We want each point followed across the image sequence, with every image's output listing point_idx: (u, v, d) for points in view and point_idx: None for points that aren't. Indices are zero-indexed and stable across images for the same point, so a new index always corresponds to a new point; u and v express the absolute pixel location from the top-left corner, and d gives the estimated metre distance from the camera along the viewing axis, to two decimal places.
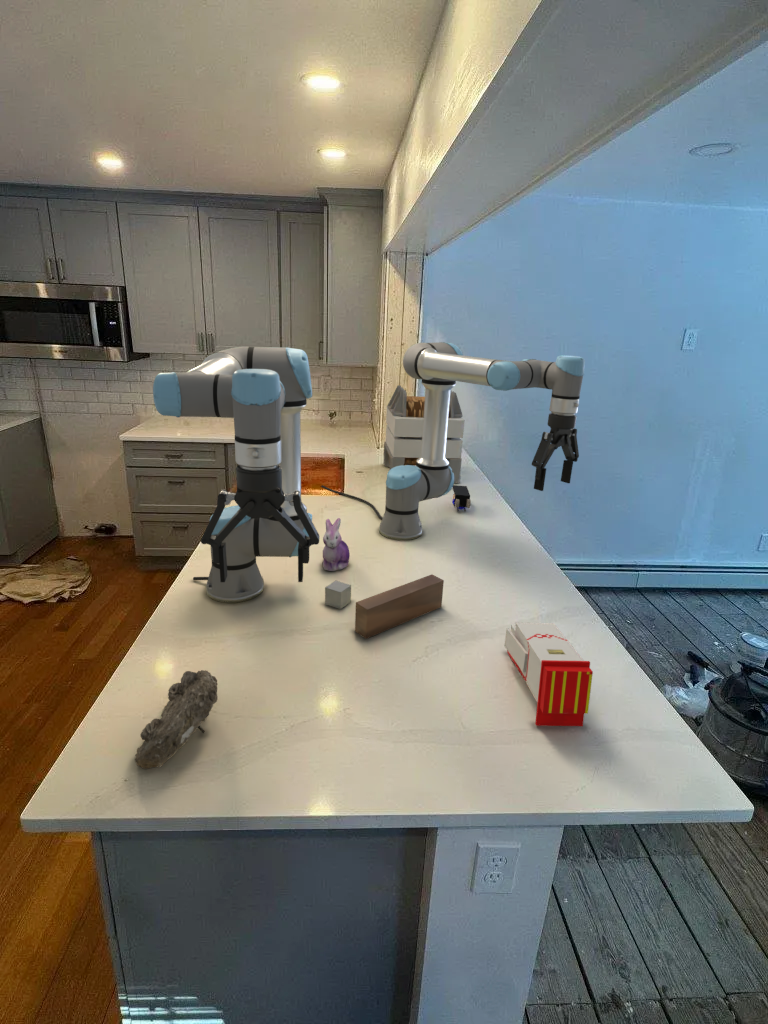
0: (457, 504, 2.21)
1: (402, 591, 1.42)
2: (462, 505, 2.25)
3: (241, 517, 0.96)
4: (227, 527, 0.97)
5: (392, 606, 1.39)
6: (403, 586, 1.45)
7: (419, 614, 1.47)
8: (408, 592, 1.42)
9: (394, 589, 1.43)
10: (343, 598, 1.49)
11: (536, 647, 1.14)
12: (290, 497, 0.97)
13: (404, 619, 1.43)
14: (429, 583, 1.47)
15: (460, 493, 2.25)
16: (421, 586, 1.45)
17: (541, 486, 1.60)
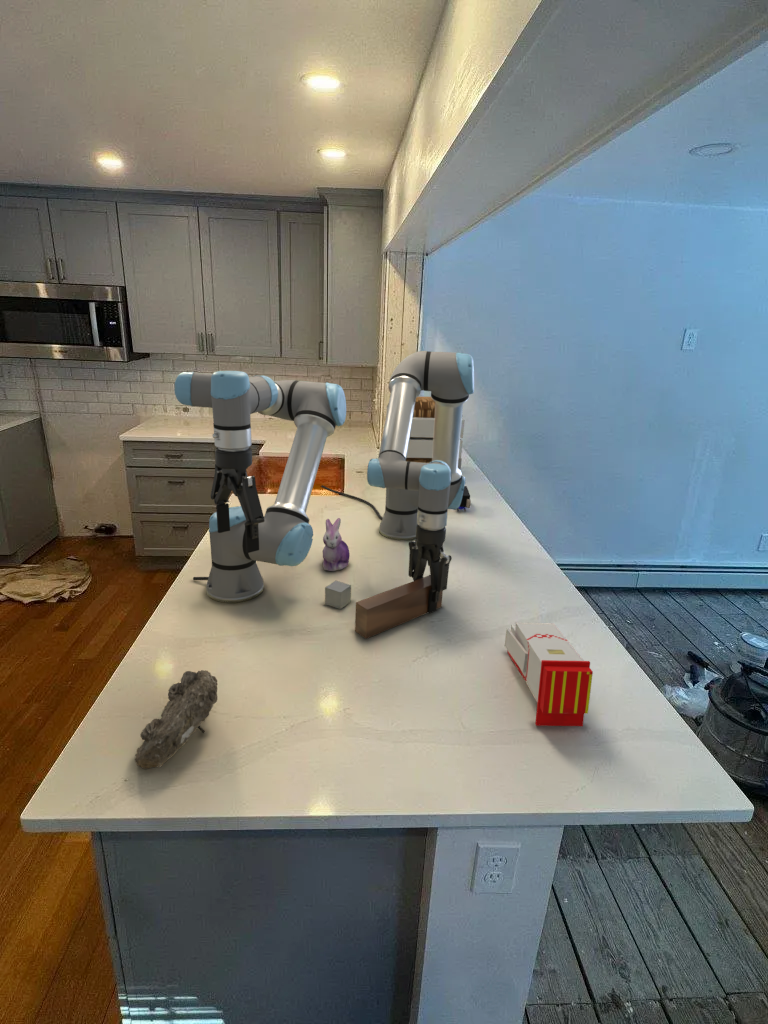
0: None
1: (402, 591, 1.42)
2: (462, 505, 2.25)
3: (221, 485, 1.23)
4: (219, 490, 1.25)
5: (392, 606, 1.39)
6: (403, 586, 1.45)
7: (419, 614, 1.47)
8: (408, 592, 1.42)
9: (394, 589, 1.43)
10: (343, 598, 1.49)
11: (536, 647, 1.14)
12: None
13: (404, 619, 1.43)
14: (429, 583, 1.47)
15: None
16: (421, 586, 1.45)
17: None
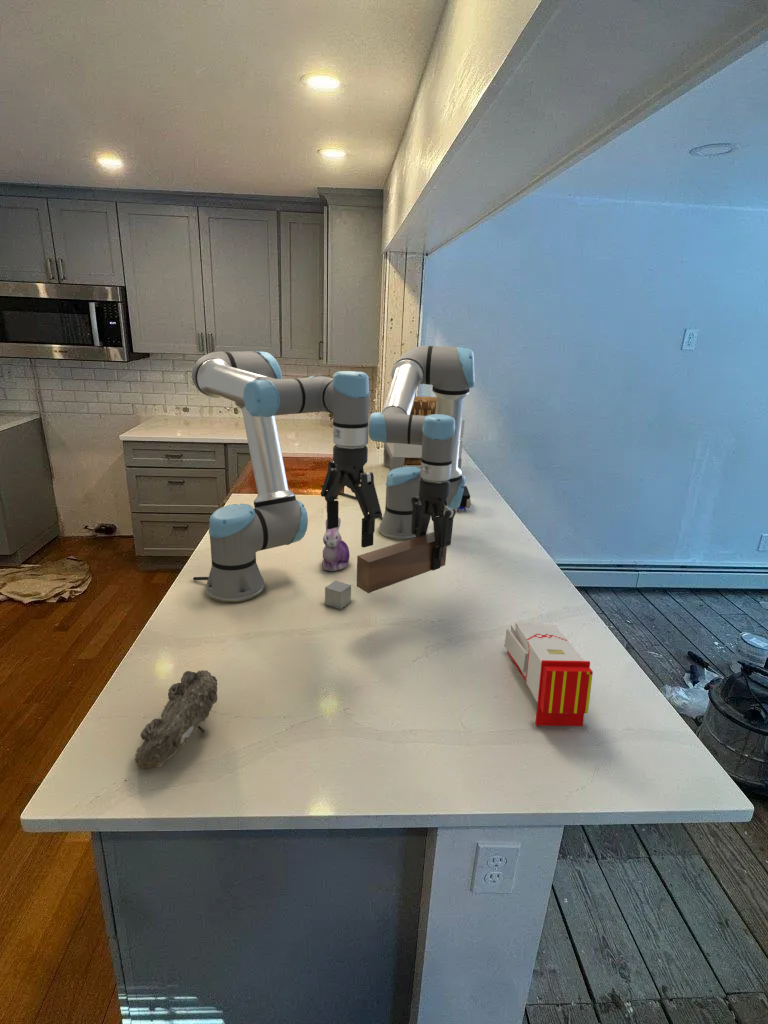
0: None
1: (405, 547, 1.38)
2: (462, 505, 2.25)
3: (336, 482, 1.27)
4: (331, 488, 1.29)
5: (395, 561, 1.35)
6: (406, 542, 1.41)
7: (422, 571, 1.43)
8: (411, 547, 1.38)
9: (397, 544, 1.39)
10: (343, 598, 1.49)
11: (536, 647, 1.14)
12: None
13: (406, 575, 1.39)
14: (432, 539, 1.43)
15: None
16: (424, 542, 1.41)
17: None
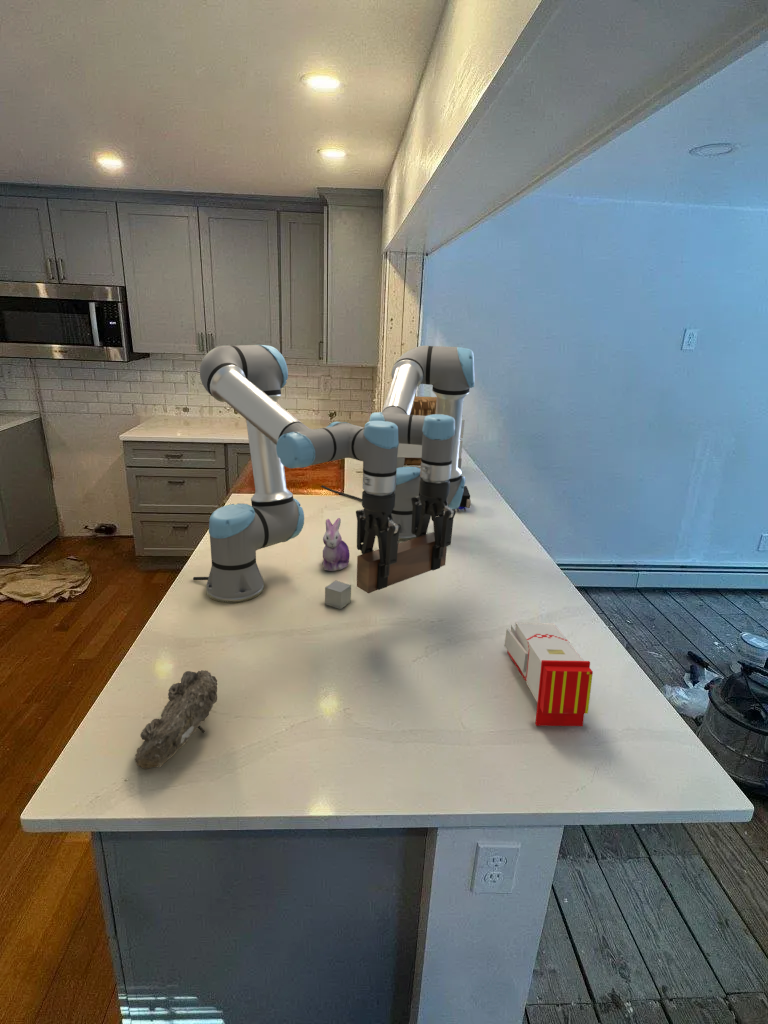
0: None
1: (405, 547, 1.38)
2: (462, 505, 2.25)
3: (367, 528, 1.31)
4: (364, 538, 1.33)
5: None
6: (406, 542, 1.41)
7: (422, 571, 1.43)
8: (411, 547, 1.38)
9: None
10: (343, 598, 1.49)
11: (536, 647, 1.14)
12: (390, 525, 1.26)
13: (407, 575, 1.39)
14: (432, 539, 1.43)
15: None
16: (424, 542, 1.41)
17: None
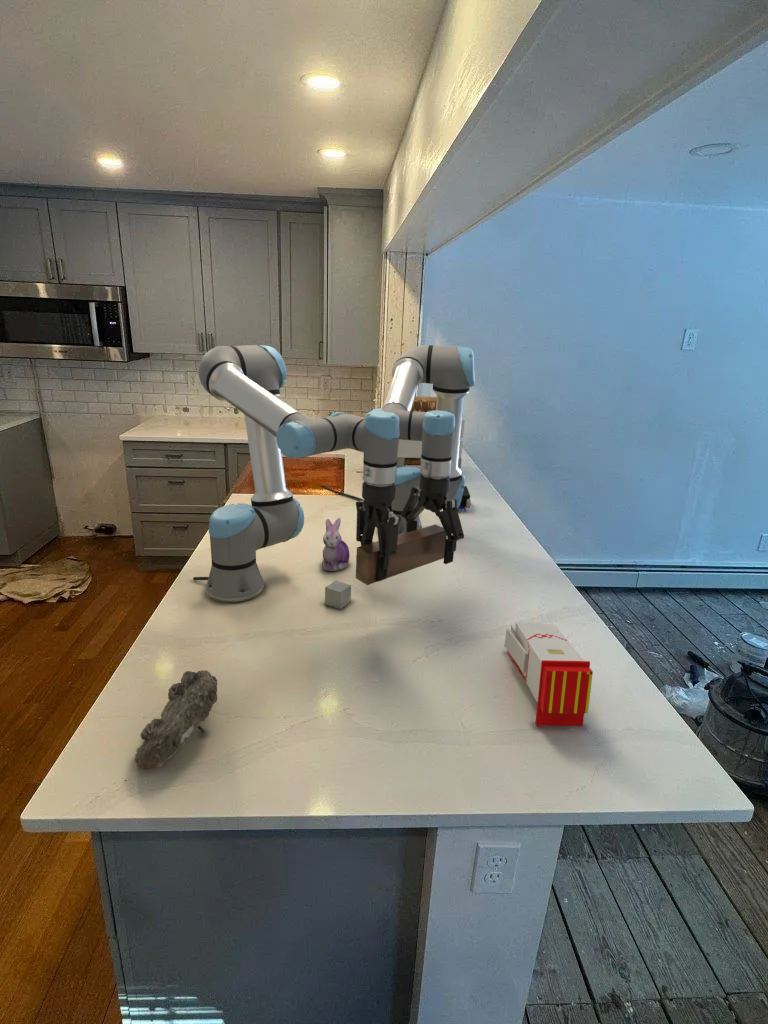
0: None
1: (404, 539, 1.37)
2: (462, 505, 2.25)
3: (366, 520, 1.30)
4: (364, 529, 1.33)
5: None
6: (406, 534, 1.40)
7: (422, 563, 1.42)
8: (411, 539, 1.37)
9: None
10: (343, 598, 1.49)
11: (536, 647, 1.14)
12: (390, 516, 1.26)
13: (406, 567, 1.39)
14: (432, 531, 1.43)
15: None
16: (424, 534, 1.41)
17: None
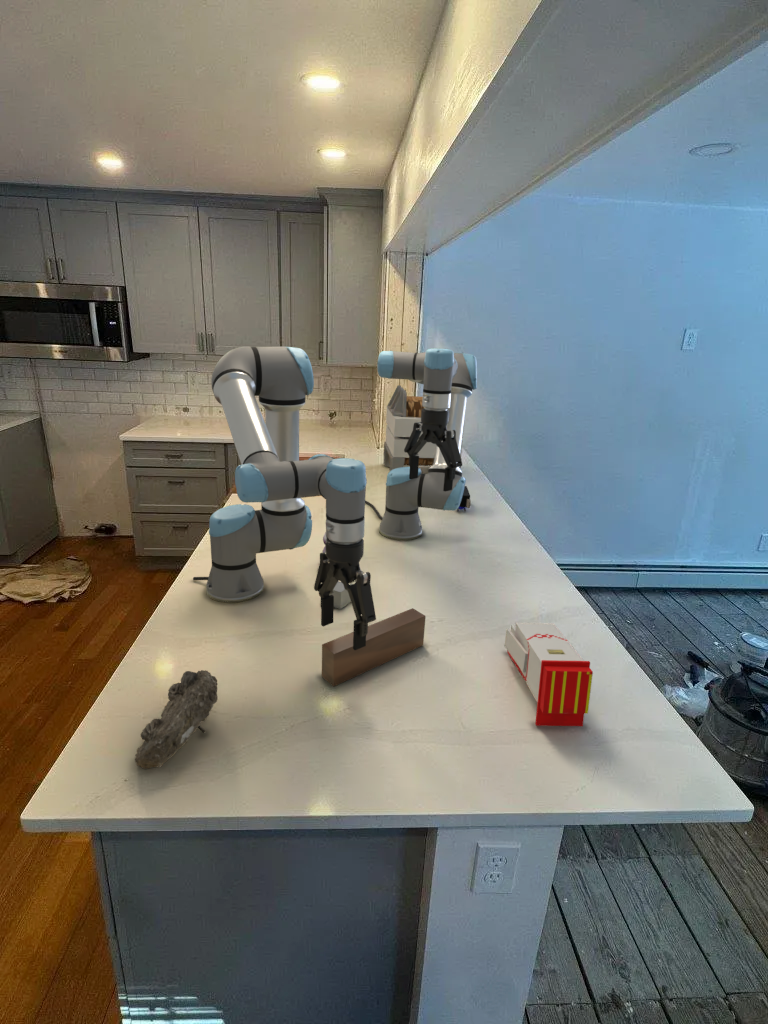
0: None
1: (376, 630, 1.24)
2: (462, 505, 2.25)
3: (329, 576, 1.15)
4: (325, 582, 1.18)
5: (365, 649, 1.21)
6: (378, 623, 1.27)
7: (397, 655, 1.29)
8: (384, 631, 1.24)
9: (368, 627, 1.26)
10: (343, 598, 1.49)
11: (536, 647, 1.14)
12: (358, 575, 1.09)
13: (378, 661, 1.25)
14: (408, 619, 1.30)
15: None
16: (399, 623, 1.28)
17: None
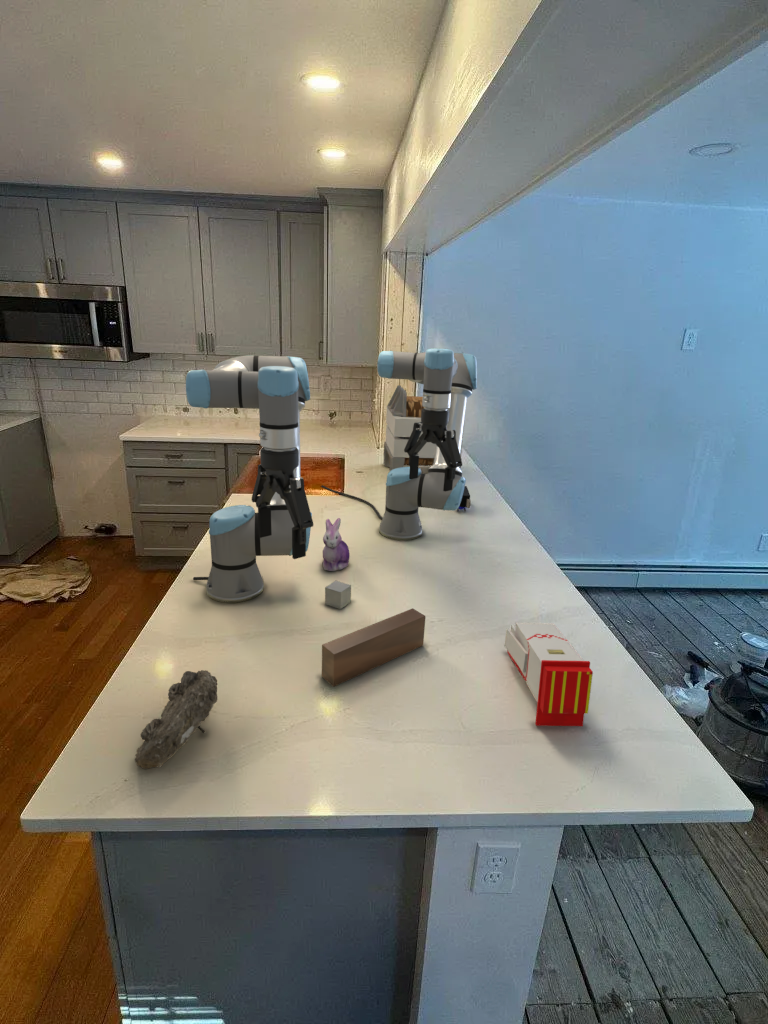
0: None
1: (376, 631, 1.25)
2: (462, 505, 2.25)
3: (265, 487, 1.16)
4: (261, 493, 1.19)
5: (365, 649, 1.21)
6: (378, 623, 1.27)
7: (397, 655, 1.29)
8: (383, 631, 1.24)
9: (368, 627, 1.26)
10: (343, 598, 1.49)
11: (536, 647, 1.14)
12: None
13: (378, 662, 1.25)
14: (408, 619, 1.30)
15: None
16: (399, 623, 1.28)
17: None
